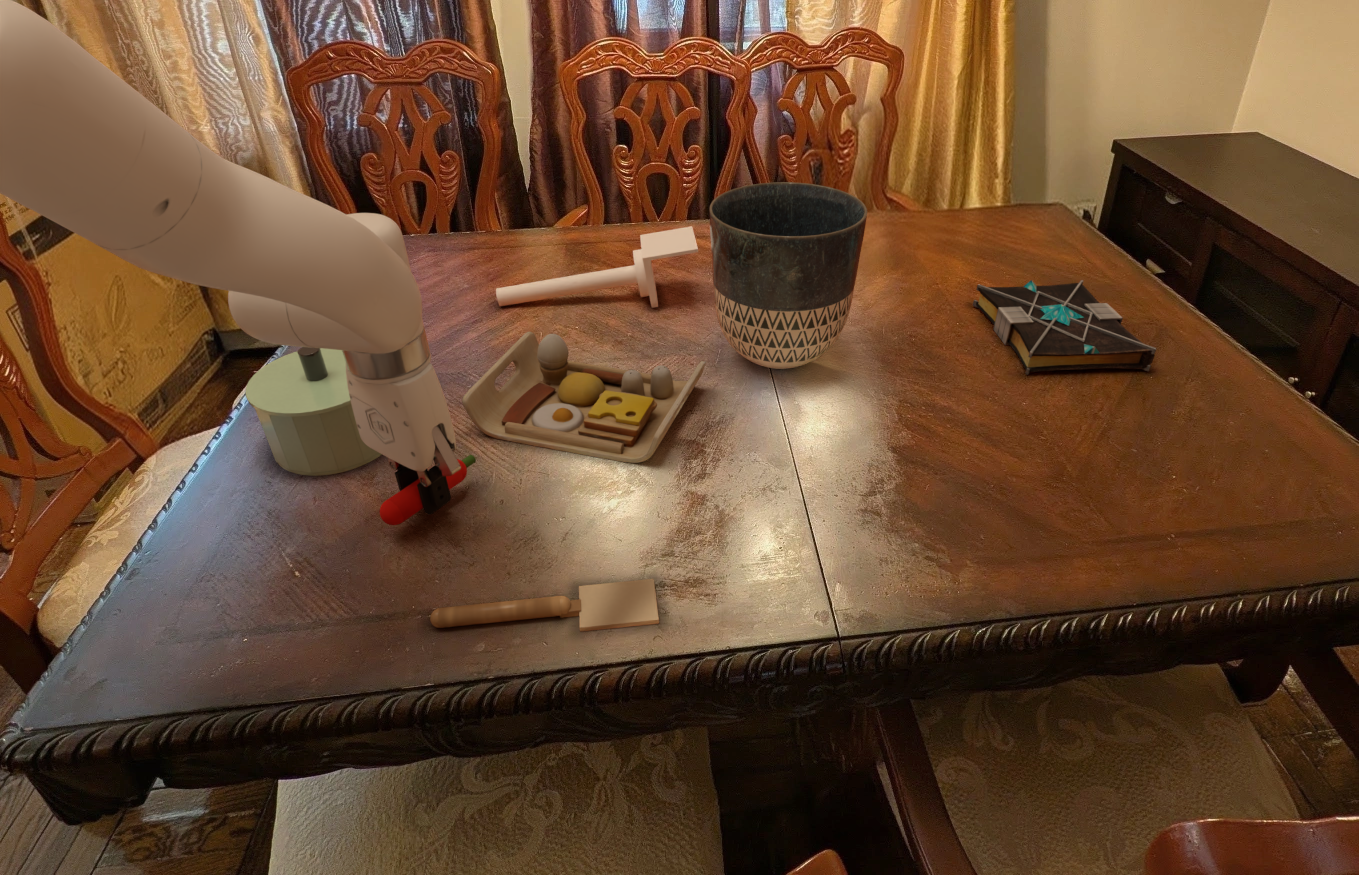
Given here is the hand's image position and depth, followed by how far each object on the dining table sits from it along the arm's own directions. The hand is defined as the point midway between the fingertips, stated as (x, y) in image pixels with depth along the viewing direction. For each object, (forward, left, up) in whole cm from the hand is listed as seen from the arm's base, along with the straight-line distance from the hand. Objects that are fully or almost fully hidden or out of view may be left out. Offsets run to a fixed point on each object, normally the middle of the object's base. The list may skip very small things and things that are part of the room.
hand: (427, 499), depth 85 cm
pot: (+3, +20, -2) cm, 21 cm away
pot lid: (+3, +20, +7) cm, 22 cm away
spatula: (-3, -21, -2) cm, 21 cm away
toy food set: (+25, -2, -2) cm, 25 cm away
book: (+77, -45, -2) cm, 89 cm away
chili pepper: (0, 0, 0) cm, 0 cm away
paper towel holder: (+50, +18, -2) cm, 53 cm away
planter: (+50, -15, -2) cm, 52 cm away
